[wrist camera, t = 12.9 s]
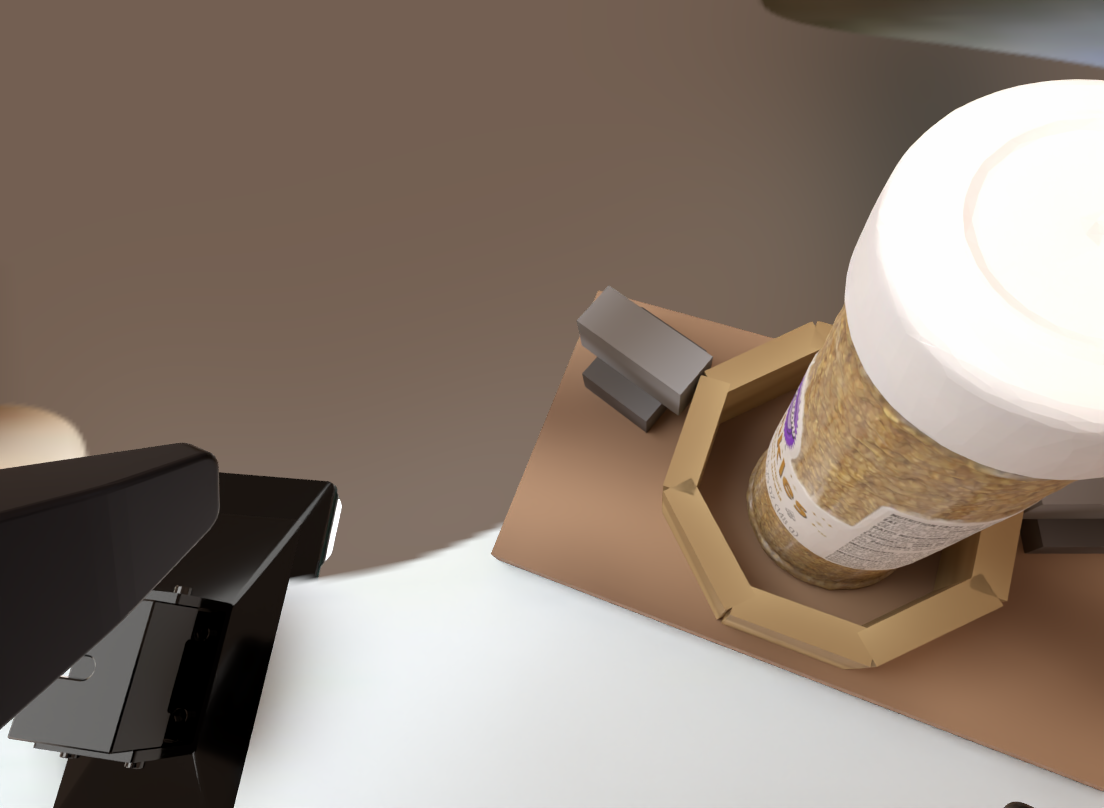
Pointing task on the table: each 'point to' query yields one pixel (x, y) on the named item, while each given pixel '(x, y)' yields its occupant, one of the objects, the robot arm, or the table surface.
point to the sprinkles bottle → (952, 347)
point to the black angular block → (187, 659)
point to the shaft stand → (774, 594)
